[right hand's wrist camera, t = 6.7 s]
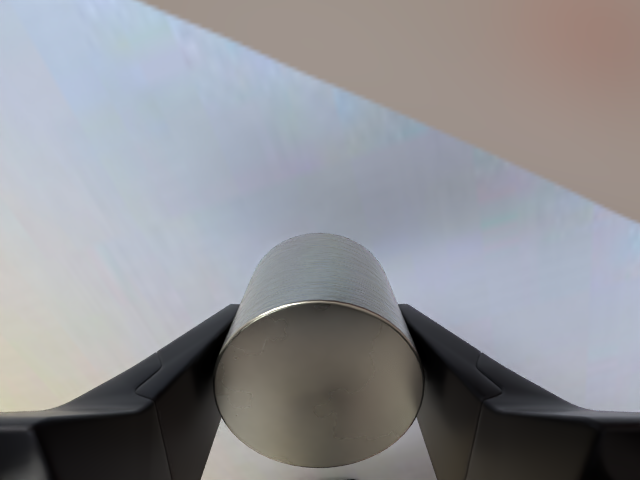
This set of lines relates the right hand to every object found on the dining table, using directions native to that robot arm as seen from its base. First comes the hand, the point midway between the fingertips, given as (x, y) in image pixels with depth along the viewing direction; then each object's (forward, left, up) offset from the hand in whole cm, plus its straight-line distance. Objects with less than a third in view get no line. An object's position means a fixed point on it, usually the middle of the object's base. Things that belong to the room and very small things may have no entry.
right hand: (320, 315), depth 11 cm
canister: (0, 0, -1) cm, 1 cm away
